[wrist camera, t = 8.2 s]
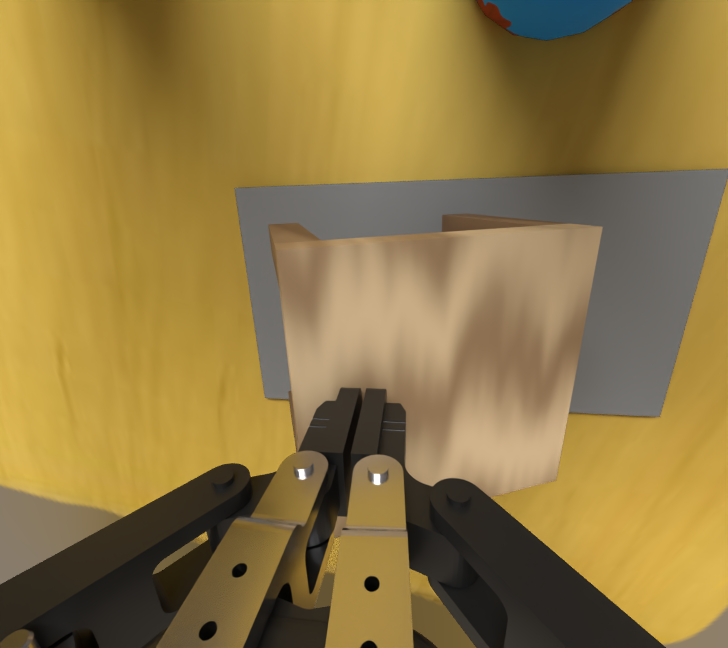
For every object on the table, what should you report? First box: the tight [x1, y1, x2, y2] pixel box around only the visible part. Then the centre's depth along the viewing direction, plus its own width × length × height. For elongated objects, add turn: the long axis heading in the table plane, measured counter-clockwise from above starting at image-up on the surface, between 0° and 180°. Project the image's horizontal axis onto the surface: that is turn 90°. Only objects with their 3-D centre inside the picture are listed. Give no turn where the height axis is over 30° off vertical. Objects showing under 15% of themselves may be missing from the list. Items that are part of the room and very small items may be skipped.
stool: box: [268, 213, 603, 538], centre depth 19 cm, size 12×10×12 cm
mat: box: [235, 169, 728, 417], centre depth 25 cm, size 16×29×1 cm, turn 92°
